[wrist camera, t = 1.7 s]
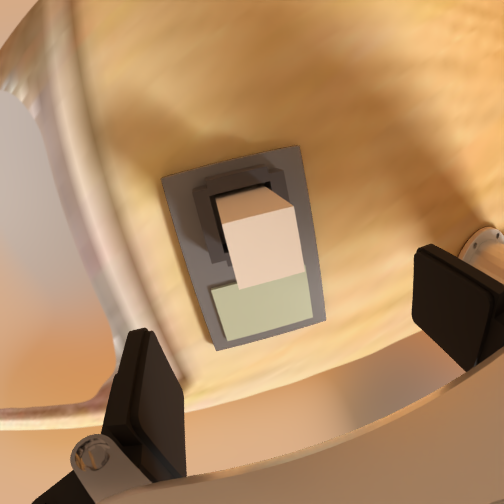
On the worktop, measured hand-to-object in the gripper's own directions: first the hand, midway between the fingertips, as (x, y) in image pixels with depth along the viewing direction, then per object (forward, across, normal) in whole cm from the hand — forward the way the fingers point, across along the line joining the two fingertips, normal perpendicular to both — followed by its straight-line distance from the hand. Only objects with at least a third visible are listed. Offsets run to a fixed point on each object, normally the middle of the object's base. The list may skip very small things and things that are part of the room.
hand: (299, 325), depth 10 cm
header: (+19, -1, +5) cm, 19 cm away
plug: (+18, -1, 0) cm, 18 cm away
